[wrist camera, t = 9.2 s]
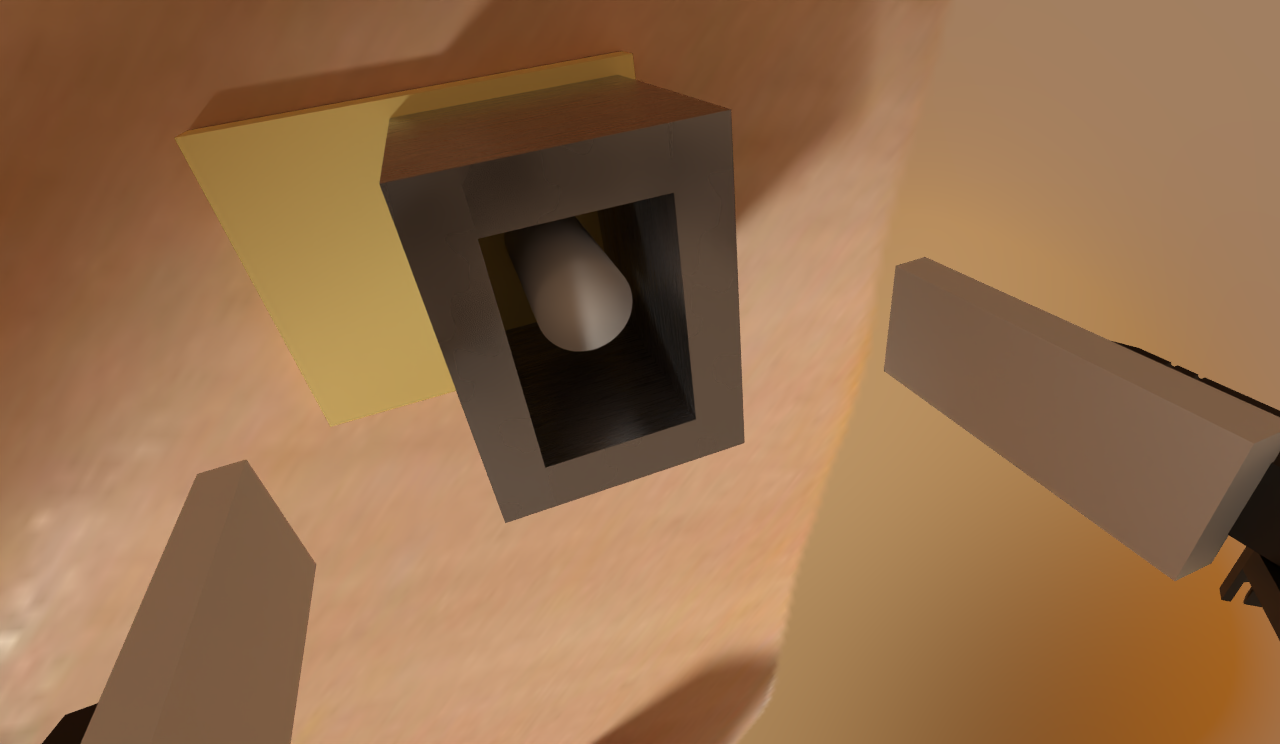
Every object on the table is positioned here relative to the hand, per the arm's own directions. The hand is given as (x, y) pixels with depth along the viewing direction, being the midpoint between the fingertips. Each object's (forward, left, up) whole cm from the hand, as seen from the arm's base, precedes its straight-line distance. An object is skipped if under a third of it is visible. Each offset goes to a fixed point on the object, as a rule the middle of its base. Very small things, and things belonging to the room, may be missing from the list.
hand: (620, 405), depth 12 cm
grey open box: (0, 0, -10) cm, 10 cm away
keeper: (-2, 0, -12) cm, 12 cm away
